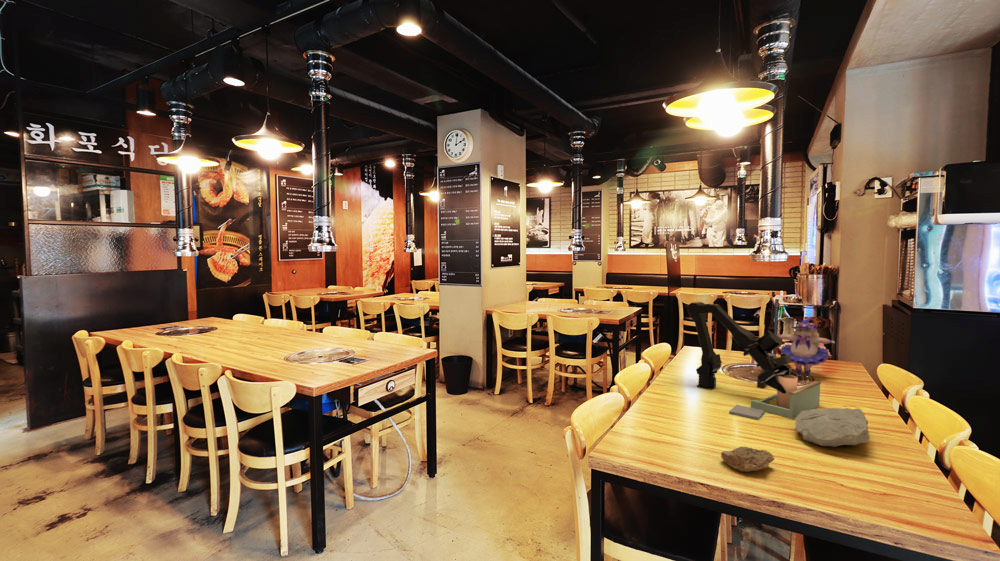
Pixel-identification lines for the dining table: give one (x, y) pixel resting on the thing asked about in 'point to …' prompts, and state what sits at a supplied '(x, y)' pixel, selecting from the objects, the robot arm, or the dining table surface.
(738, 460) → the rock
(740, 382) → the dining table surface
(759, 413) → the metal tile
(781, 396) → the pink cup
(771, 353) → the hammer
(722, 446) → the dining table surface
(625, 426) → the dining table surface
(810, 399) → the cold frame
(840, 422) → the stone
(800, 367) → the toy
